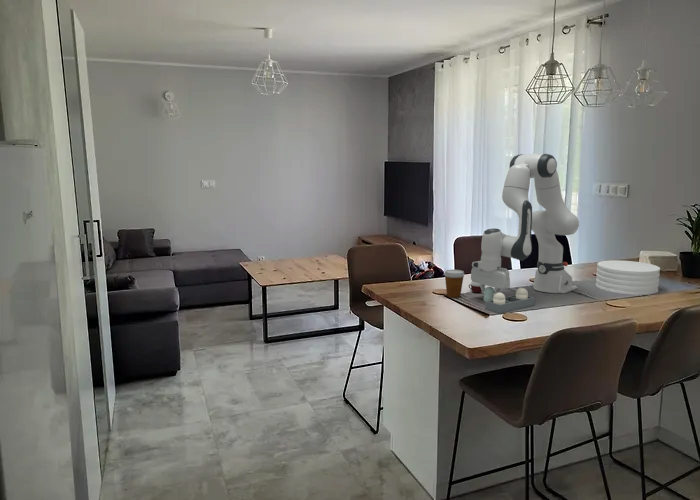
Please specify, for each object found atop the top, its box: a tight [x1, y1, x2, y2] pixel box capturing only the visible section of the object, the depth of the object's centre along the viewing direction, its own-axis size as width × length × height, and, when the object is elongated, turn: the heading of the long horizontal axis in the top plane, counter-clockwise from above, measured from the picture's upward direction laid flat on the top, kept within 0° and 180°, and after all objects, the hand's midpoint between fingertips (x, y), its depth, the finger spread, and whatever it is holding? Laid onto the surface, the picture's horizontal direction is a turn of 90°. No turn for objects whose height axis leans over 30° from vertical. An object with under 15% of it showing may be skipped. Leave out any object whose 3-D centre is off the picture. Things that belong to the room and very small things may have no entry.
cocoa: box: [468, 281, 482, 294], centre depth 262 cm, size 10×6×12 cm, turn 30°
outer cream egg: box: [493, 291, 506, 305], centre depth 229 cm, size 5×5×8 cm
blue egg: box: [483, 286, 495, 303], centre depth 243 cm, size 5×5×8 cm
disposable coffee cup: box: [443, 269, 465, 299], centre depth 255 cm, size 10×10×12 cm
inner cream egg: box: [515, 287, 529, 300], centre depth 237 cm, size 5×5×8 cm
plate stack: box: [595, 259, 661, 296], centre depth 271 cm, size 28×28×12 cm
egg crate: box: [485, 294, 536, 314], centre depth 234 cm, size 22×8×4 cm, turn 123°
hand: (489, 295), depth 243 cm, fingers closed on blue egg, 5 cm apart
